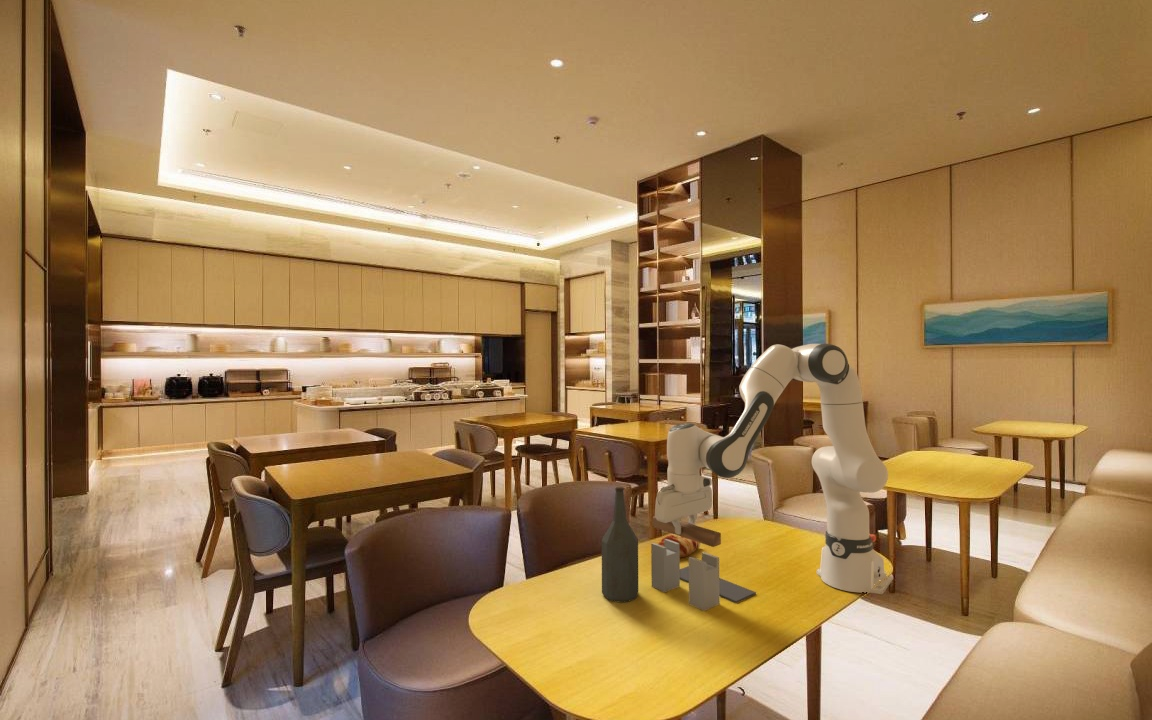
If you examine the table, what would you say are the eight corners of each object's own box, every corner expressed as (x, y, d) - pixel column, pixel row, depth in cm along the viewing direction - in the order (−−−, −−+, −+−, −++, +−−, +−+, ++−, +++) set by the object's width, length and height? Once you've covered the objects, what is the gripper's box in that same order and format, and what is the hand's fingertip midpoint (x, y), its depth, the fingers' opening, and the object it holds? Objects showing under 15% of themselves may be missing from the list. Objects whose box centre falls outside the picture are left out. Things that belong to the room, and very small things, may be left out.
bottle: (644, 599, 143) (644, 489, 143) (612, 605, 139) (612, 492, 139) (626, 584, 152) (626, 481, 153) (596, 590, 149) (595, 484, 149)
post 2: (704, 597, 144) (704, 552, 144) (719, 604, 140) (719, 557, 140) (689, 603, 140) (688, 557, 140) (703, 610, 136) (703, 563, 136)
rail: (660, 524, 155) (659, 514, 155) (720, 544, 138) (720, 532, 138) (652, 526, 153) (652, 516, 153) (713, 547, 136) (712, 535, 136)
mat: (689, 567, 165) (689, 565, 165) (755, 594, 145) (755, 592, 145) (669, 574, 159) (669, 572, 159) (736, 603, 140) (736, 601, 140)
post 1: (666, 580, 155) (666, 538, 155) (679, 586, 151) (679, 543, 151) (651, 586, 151) (651, 543, 151) (664, 592, 147) (664, 548, 147)
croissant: (693, 555, 185) (685, 532, 188) (712, 549, 177) (704, 526, 181) (647, 567, 173) (640, 542, 177) (665, 561, 166) (657, 535, 169)
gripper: (666, 490, 137) (667, 543, 137) (715, 478, 149) (717, 526, 149) (648, 486, 142) (650, 537, 142) (698, 475, 154) (699, 521, 154)
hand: (684, 531), depth 146 cm, fingers closed on rail, 3 cm apart
